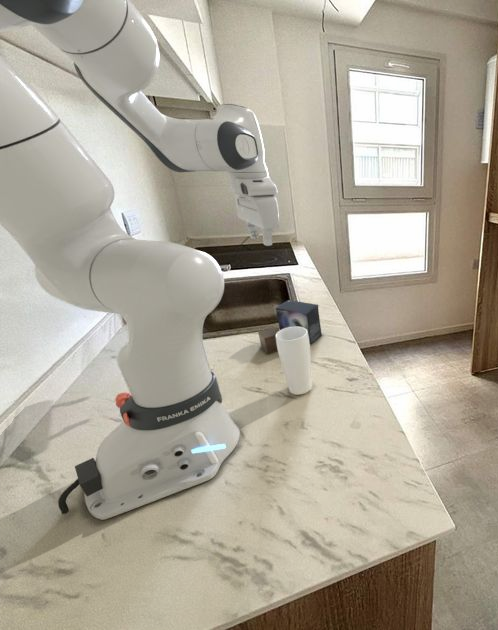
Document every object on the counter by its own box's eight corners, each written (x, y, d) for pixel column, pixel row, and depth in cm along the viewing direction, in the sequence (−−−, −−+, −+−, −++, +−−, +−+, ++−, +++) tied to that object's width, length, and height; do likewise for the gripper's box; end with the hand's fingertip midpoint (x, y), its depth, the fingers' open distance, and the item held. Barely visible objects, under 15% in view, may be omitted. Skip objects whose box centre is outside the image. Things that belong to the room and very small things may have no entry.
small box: (279, 339, 99) (273, 307, 94) (293, 329, 104) (288, 299, 100) (310, 345, 96) (305, 312, 92) (322, 335, 102) (318, 303, 97)
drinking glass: (300, 377, 82) (291, 323, 76) (321, 384, 80) (314, 330, 73) (279, 392, 77) (267, 336, 70) (301, 401, 74) (291, 343, 68)
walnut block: (267, 354, 91) (264, 338, 89) (261, 347, 95) (258, 331, 93) (285, 348, 95) (282, 332, 92) (278, 341, 98) (275, 326, 96)
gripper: (223, 182, 85) (236, 236, 91) (250, 188, 71) (262, 251, 77) (249, 181, 89) (259, 233, 95) (279, 187, 75) (289, 247, 81)
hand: (261, 241), depth 86 cm, fingers open, 8 cm apart
